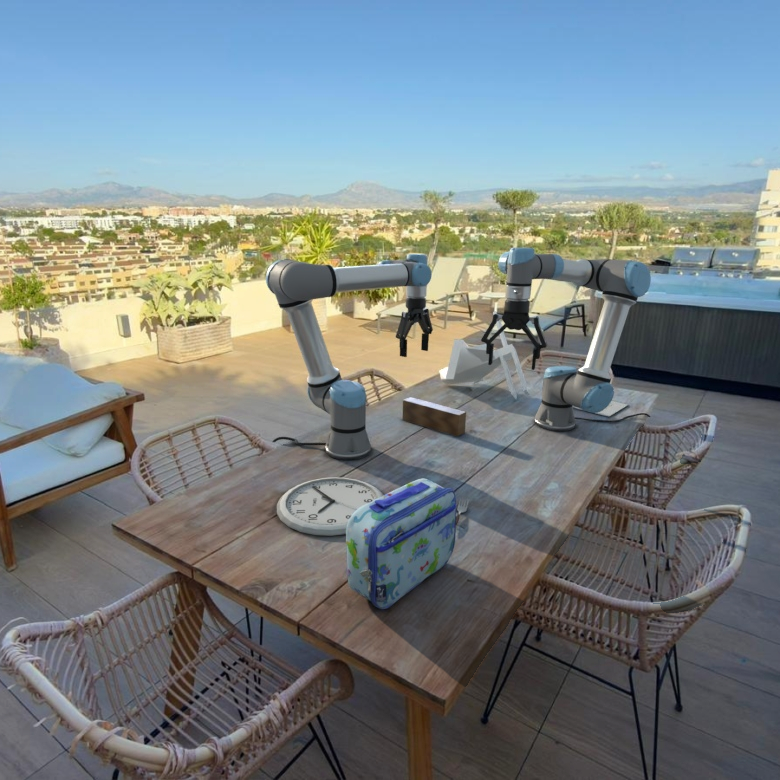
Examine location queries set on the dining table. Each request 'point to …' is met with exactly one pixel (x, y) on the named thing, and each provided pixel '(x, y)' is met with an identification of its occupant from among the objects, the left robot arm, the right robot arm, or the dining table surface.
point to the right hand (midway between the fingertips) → (511, 366)
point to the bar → (434, 416)
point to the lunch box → (400, 540)
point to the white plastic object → (481, 363)
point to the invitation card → (610, 408)
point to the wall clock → (324, 504)
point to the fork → (461, 509)
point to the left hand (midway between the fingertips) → (414, 353)
